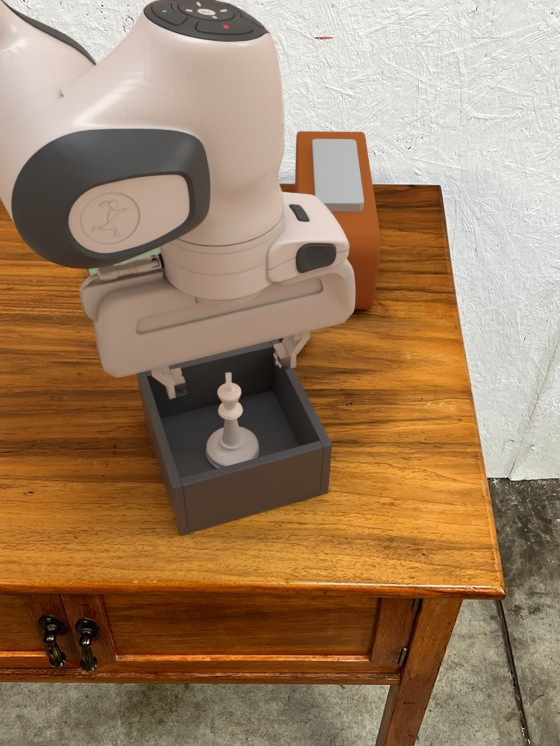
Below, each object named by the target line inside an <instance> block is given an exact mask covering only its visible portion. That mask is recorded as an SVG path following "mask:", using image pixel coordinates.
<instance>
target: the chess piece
mask: <svg viewBox="0 0 560 746" xmlns="http://www.w3.org/2000/svg"><path fill="white" fill-rule="evenodd" d="M231 377H232V376H231V373H226V383H225V384H223V385H221V386H220V387H219V389H218V396H219V398H220V400H221V401H222V403H221V405H220V406H219V409H218V413H219V415H220V416H221V417H222V418H224V419H225V423H224V427H223V428H221V429H219V430H217V431H215V432H214V433H213V434H212V435H211V436H210V437H209V439H208V441H207V445H206V456H207V459H208V460H209V462H210V463H211V464H212V465H213V466H214V467H216V468H221V467H225V466H229V465H232V464H236V463H240V462H243V461H247V460H251V459H254V458H258V455H259V444H258V440H257V438H256V436H255V435H254V434H253V433H252V432H251V431H249V430H248V429H246V428H243V427H239V426H238V421H237V418H238V417H240V416H241V414H242V412H243V408H242V406H241V404H240V403H239V402H238V400H239V398H240V395H241V388H240V387H239V386H238V385H237V384H234V383H231Z"/></svg>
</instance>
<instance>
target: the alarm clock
mask: <svg viewBox="0 0 560 746" xmlns="http://www.w3.org/2000/svg"><path fill="white" fill-rule="evenodd" d="M294 193H300V194H309V195H314V196H316V197H318V198H319V199H320V200H321V201H322V202H323V204H324V205H325V206H326V207H327V208H328V209H329V211H330V212H331V213H332V214H333V216H334V217H335V218H336V220H337V221H338V223H339V224H340V226H341V228H342V230H343V231H344V233H345V235H346V238H347V240H348V242H349V254H348V257H347V260H348V261H349V263H350V264H351V266H352V268H353V271H354V278H355V308H354V310H370V309H372V308H373V306H374V303H375V299H376V290H377V289H376V288H377V282H378V281H377V280H378V275H379V274H378V273H379V265H380V257H381V230H380V225H379V217H378V211H377V204H376V198H375V191H374V184H373V178H372V171H371V163H370V158H369V151H368V144H367V138H366V134H365V132H363V131H326V130H325V131H321V130H318V131H316V130H313V131H312V130H311V131H310V130H306V131H305V130H300V131H297V133H296V136H295V170H294Z"/></svg>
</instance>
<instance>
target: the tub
mask: <svg viewBox="0 0 560 746" xmlns="http://www.w3.org/2000/svg"><path fill="white" fill-rule="evenodd" d="M278 343H280V342H279V340H278V339H277V340H273V341H271V342H270V341H269V342H265V343H260V344H256V345H252V346H248V347H244V348H240V349H235V350H231V351H227V352H223V353H219V354H215V355H211V356H207V357H203V358H198V359H194V360H190V361H186V362H182V363H178V364H174V365H170V366H169V368H170V370H171V369H175V368H180V369H181V371H182V376H183V377H184V379H185V382H186V391H187V395H184V396H180V397H176V398H173V399H169V396H168V393H167V390H166V387H165V385H163V384H162V383H161V382H159V381H158V380H157V379H155V378H154V377H153V376H152V374H151V371H150V370H149V371H145V372H141V373H137V374H136V378H137V379H136V380H137V384H138V390H139V395H140V401H141V407H142V412H143V417H144V423H145V426H146V430H147V433H148V436H149V439H150V442H151V446H152V449H153V452H154V453H153V454H154V456H155V459H156V462H157V467H158V470H159V473H160V476H161V479H162V482H163V486H164V488H165V492H166V496H167V498H168V499H167V500H168V502H169V505H170V508H171V512H172V516H173V518H174V522H175V526H176V528H177V531H178V535H179V536H180V537H182V536H184V535H188V534H191V533H195V532H198V531H201V530H205V529H209V528H213V527H215V526H220V525H223V524H226V523H229V522H233V521H237V520H239V519H243V518H247V517H251V516H253V515H257V514H260V513H264V512H268V511H272V510H274V509H278V508H281V507H285V506H288V505H292V504H295V503H299V502H302V501H306V500H309V499H312V498H316V497H319V496H322V495H326V494H329V486H330V474H331V464H332V463H331V462H332V452H333V443H332V442H331V440H330V438H329V436H328V434H327V432H326V429H325V428H324V426H323V424H322V422H321V420H320V418H319V415H318V414H317V412H316V409H315V408H314V406H313V404H312V402H311V400H310V399H309V396H308V394H307V393H306V390H305V389H304V387H303V385H302V383H301V381H300V379H299V377H298V375H297V373H296V371H295V369H294V368H291V369H287V370H282V371H279V370H278V368H277V365H276V364H275V362H274V358H273V354H274V351H273V345H274V344H278ZM226 373H231V376H232V377H231V383H234V384H237V385H238V386H239V387H240V388H241V395H240V398H239V400H238V402H239V403H240V404H241V406H242V408H243V412H242V414H241V416H240V417H238V418H237V421H238V426H239V427H243V428H246V429H248V430H249V431H251V432H252V433H253V434H254V435H255V436H256V438H257V440H258V444H259V455H258V458H254V459H251V460H247V461H243V462H240V463H236V464H232V465H229V466H225V467H221V468H216V467H214V466H213V465H212V464H211V463H210V462H209V460H208V459H207V456H206V445H207V441H208V439H209V437H210V436H211V435H212V434H213V433H214V432H215V431H217V430H219V429H221V428H223V427H224V423H225V419H224V418H222V417H221V416H220V415H219V413H218V409H219V406H220V405H221V403H222V401H221V400H220V398H219V396H218V389H219V387H220V386H221V385H223V384H225V383H226Z"/></svg>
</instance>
